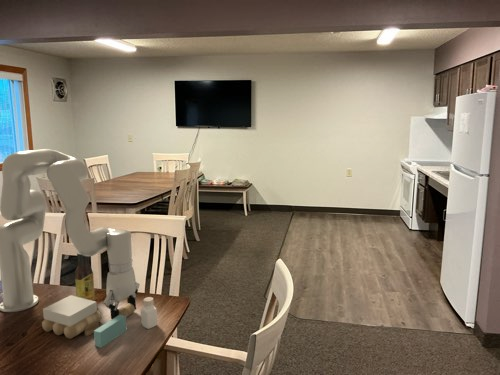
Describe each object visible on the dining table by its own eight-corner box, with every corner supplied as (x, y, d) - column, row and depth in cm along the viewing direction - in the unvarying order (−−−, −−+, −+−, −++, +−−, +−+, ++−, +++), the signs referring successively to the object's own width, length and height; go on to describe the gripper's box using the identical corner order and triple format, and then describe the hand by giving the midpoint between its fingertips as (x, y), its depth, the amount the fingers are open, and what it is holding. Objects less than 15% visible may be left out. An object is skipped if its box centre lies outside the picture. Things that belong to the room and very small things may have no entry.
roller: (121, 323, 134) (120, 312, 133) (112, 320, 135) (111, 310, 135) (135, 313, 140) (134, 303, 139) (126, 311, 142) (126, 301, 141)
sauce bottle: (88, 308, 144) (84, 256, 140) (73, 306, 145) (68, 255, 142) (98, 300, 150) (95, 250, 147) (84, 299, 151) (80, 249, 148)
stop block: (95, 345, 120) (93, 330, 119) (120, 328, 130) (119, 314, 129) (101, 347, 119) (100, 332, 118) (126, 330, 129) (125, 316, 128)
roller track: (42, 330, 129) (41, 319, 128) (72, 314, 140) (71, 303, 139) (92, 346, 120) (91, 334, 119) (120, 327, 131) (119, 316, 130)
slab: (43, 318, 128) (42, 308, 128) (71, 304, 138) (70, 295, 138) (70, 326, 124) (69, 316, 123) (97, 311, 133) (96, 301, 133)
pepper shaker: (147, 330, 129) (146, 303, 127) (141, 325, 132) (139, 299, 130) (158, 325, 132) (157, 298, 130) (151, 321, 135) (150, 295, 133)
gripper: (129, 256, 144) (132, 301, 147) (92, 273, 128) (96, 323, 131) (146, 259, 141) (148, 305, 144) (110, 277, 125) (113, 328, 128)
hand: (123, 313), depth 137 cm, fingers open, 7 cm apart
